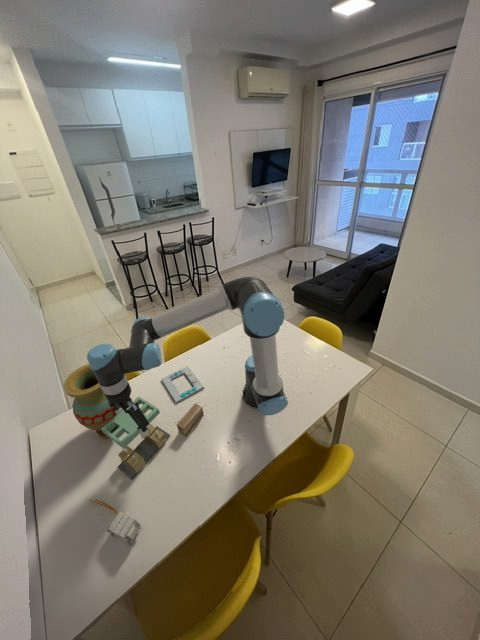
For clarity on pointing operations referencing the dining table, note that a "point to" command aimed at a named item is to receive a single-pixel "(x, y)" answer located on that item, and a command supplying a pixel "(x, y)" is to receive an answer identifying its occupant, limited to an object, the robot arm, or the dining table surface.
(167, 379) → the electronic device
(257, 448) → the dining table surface
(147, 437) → the chassis
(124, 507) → the dining table surface
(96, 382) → the vase
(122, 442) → the board
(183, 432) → the brown rectangular block
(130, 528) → the electrical component
